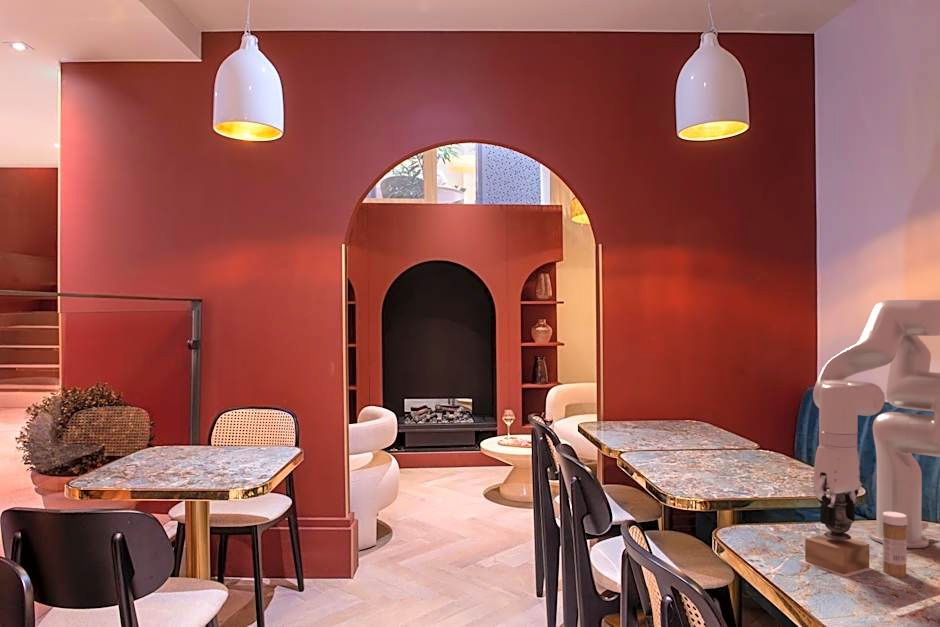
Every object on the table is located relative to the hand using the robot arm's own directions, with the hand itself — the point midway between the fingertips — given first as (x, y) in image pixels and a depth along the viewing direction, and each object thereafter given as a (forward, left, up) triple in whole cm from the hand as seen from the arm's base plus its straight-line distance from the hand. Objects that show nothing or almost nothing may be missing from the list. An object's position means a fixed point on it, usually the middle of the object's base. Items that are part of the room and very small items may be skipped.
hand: (837, 521), depth 155 cm
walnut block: (0, 0, -9) cm, 9 cm away
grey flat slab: (+1, 0, -10) cm, 10 cm away
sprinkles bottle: (-6, +9, -10) cm, 15 cm away
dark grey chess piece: (0, 0, -3) cm, 3 cm away
